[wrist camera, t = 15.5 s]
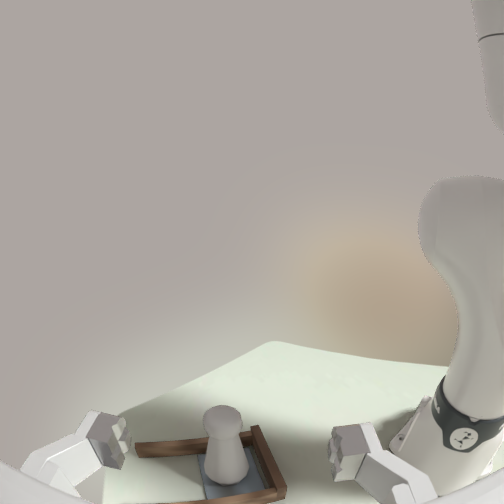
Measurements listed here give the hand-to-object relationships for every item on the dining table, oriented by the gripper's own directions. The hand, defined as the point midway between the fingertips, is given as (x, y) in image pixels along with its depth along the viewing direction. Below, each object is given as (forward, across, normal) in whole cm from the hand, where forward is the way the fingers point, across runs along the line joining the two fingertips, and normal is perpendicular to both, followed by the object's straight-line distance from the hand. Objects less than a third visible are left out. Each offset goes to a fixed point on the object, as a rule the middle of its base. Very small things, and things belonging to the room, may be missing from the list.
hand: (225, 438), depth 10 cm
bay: (+15, +5, +28) cm, 32 cm away
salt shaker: (+16, +2, +28) cm, 32 cm away
